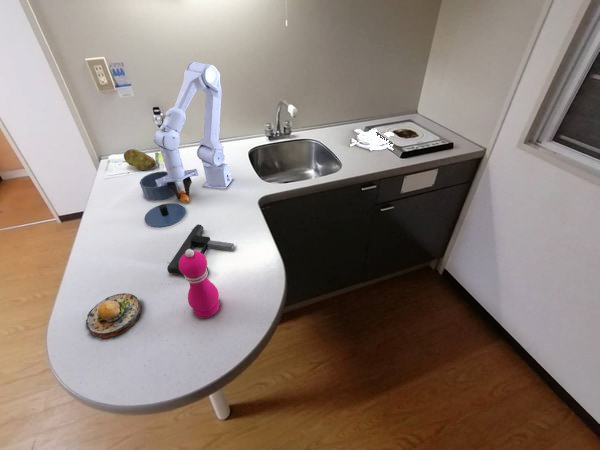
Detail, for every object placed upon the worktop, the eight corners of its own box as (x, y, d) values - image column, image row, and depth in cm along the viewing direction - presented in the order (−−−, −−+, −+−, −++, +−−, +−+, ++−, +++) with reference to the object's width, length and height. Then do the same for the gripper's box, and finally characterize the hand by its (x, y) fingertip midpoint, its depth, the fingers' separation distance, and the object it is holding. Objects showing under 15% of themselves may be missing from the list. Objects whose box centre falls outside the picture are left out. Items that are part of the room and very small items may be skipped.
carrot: (177, 196, 118) (175, 190, 116) (185, 194, 119) (183, 187, 117) (183, 206, 112) (181, 199, 111) (191, 204, 114) (189, 197, 112)
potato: (144, 175, 131) (137, 158, 126) (124, 168, 136) (118, 151, 131) (159, 167, 137) (154, 150, 132) (140, 160, 142) (134, 144, 137)
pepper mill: (195, 297, 80) (175, 240, 68) (223, 295, 81) (208, 238, 68) (189, 321, 74) (167, 263, 62) (219, 318, 75) (203, 261, 62)
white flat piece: (348, 148, 151) (348, 146, 150) (354, 128, 172) (355, 125, 171) (393, 153, 146) (393, 150, 146) (393, 131, 168) (394, 129, 167)
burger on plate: (147, 295, 81) (137, 276, 76) (133, 335, 71) (122, 316, 67) (99, 300, 80) (86, 280, 75) (79, 341, 70) (63, 322, 66)
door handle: (239, 229, 98) (191, 222, 99) (216, 276, 83) (160, 267, 84) (240, 237, 100) (193, 230, 101) (218, 284, 85) (163, 275, 86)
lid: (192, 207, 112) (190, 197, 109) (173, 231, 101) (169, 220, 99) (159, 203, 114) (155, 193, 111) (137, 226, 104) (132, 215, 101)
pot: (184, 186, 124) (181, 173, 120) (168, 203, 114) (163, 189, 110) (156, 183, 126) (152, 169, 122) (138, 199, 116) (132, 186, 112)
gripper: (154, 174, 101) (166, 208, 109) (197, 163, 107) (205, 195, 116) (149, 166, 106) (161, 198, 114) (191, 155, 112) (199, 187, 120)
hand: (183, 196), depth 115 cm, fingers closed on carrot, 3 cm apart
